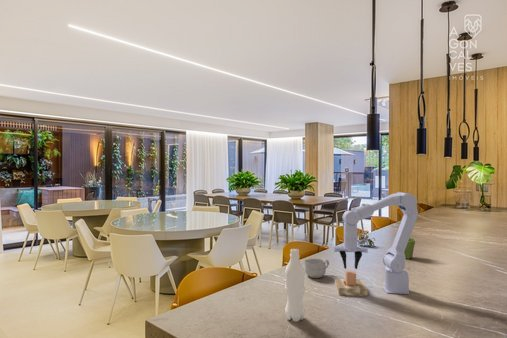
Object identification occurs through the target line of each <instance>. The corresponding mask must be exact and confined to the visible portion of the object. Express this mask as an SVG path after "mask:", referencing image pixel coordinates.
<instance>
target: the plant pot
mask: <svg viewBox="0 0 507 338" xmlns="http://www.w3.org/2000/svg"><path fill="white" fill-rule="evenodd" d="M416 241H417V239H416V238H412V237H410V238H409V241H408V243H407V246H406V249H405V251H404V254H405V257H406V258H407V259H406V260H409V259H410V258H411V259H413V256H414V249H415V245H416Z"/></svg>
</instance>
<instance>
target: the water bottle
mask: <svg viewBox="0 0 507 338" xmlns="http://www.w3.org/2000/svg"><path fill="white" fill-rule="evenodd" d="M299 250H300V249H298V248H291V249H290V253H289V257H290V259H289V261H288V264H287V265H286V268H285V270H284V274H285V276H284V277H285V281H284V283H285V285H284V290H285V292H286V296H287V298H286V299H287V300H286V305H285V309H284V312H285V316H286V318H287V320H289V321H291V320H292V321H293V322H295V323H297V322H299V321H302V320H303V319H304V318H305V315H306V314H305V313H306V309H305V308H304V303H303V301H304V300H303V297H304V294H305V293H304V292H305V291H306V287H305V275H306V272H305V267H304V266H303V264H302V263H301V260H300V257H301V256H300V251H299Z"/></svg>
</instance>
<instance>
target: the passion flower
mask: <svg viewBox="0 0 507 338" xmlns="http://www.w3.org/2000/svg"><path fill="white" fill-rule="evenodd" d="M370 237H371V234H368V233H367V231H364V232H361V233H360V232H359V233H358V234H357V245H358V246H359V245H361V246H365V244H367V245H368V246H369V247H370V246H372V247H374V246H375V241H376V238H375V237H372V238H370ZM373 240H374V241H373Z"/></svg>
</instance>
